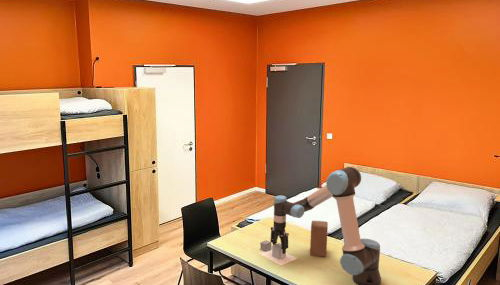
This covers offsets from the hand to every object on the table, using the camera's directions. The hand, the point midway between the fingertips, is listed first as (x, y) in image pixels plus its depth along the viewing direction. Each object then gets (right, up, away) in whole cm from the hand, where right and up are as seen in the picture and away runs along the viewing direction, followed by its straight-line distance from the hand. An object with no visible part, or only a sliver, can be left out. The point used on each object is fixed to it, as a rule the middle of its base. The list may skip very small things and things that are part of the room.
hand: (278, 255), depth 238 cm
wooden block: (+25, 0, +6) cm, 26 cm away
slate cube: (0, 0, 0) cm, 0 cm away
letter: (-1, 0, +1) cm, 1 cm away
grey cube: (-8, +1, +9) cm, 12 cm away
